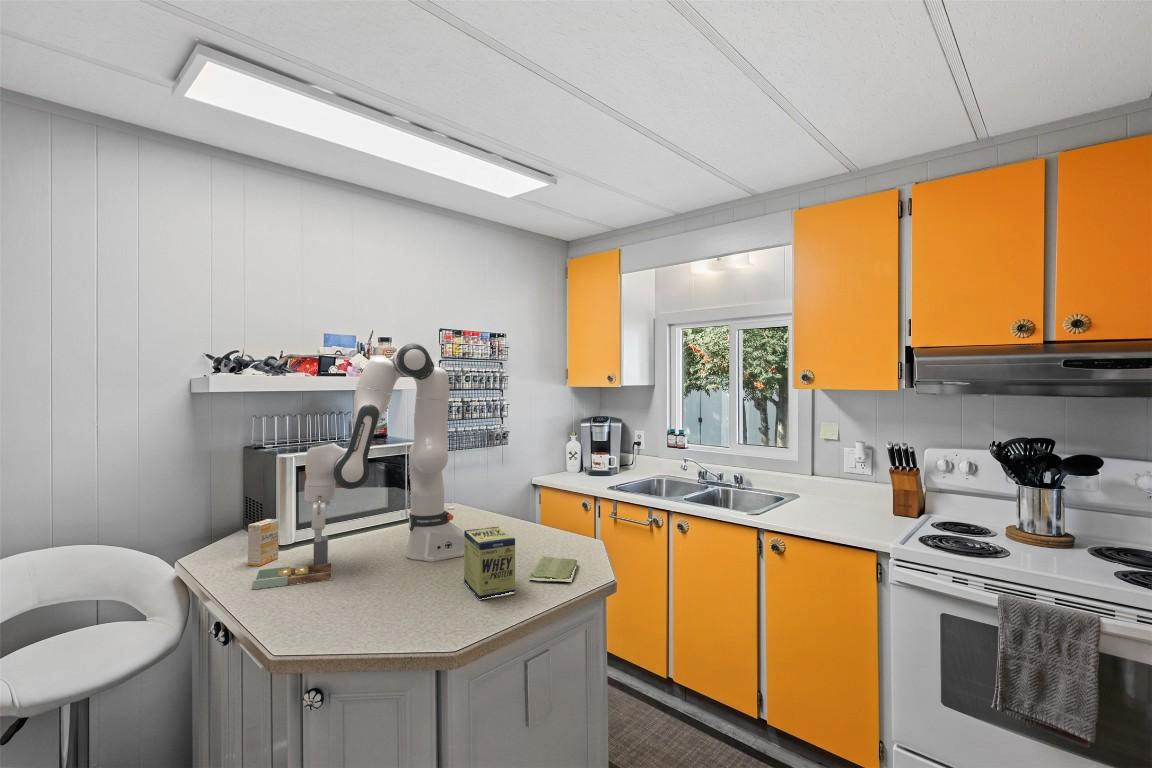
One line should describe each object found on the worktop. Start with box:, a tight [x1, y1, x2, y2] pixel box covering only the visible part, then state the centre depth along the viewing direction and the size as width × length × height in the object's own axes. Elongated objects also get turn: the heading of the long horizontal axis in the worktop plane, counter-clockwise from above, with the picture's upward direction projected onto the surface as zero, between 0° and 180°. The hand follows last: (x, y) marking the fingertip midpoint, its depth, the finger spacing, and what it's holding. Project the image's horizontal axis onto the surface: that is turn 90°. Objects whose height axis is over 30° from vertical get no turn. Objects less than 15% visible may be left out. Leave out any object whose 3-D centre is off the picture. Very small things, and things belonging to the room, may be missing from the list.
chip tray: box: [252, 565, 291, 590], centre depth 161 cm, size 8×10×2 cm
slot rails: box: [287, 562, 332, 586], centre depth 165 cm, size 12×10×2 cm
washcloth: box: [529, 556, 578, 579], centre depth 170 cm, size 13×18×3 cm
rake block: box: [313, 534, 329, 565], centre depth 175 cm, size 4×6×9 cm
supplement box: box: [247, 518, 280, 567], centre depth 179 cm, size 8×5×13 cm, turn 168°
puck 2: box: [294, 565, 309, 576], centre depth 164 cm, size 4×4×3 cm
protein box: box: [463, 526, 516, 599], centre depth 157 cm, size 10×16×16 cm
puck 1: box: [277, 567, 292, 577], centre depth 163 cm, size 4×4×3 cm
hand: (318, 537), depth 174 cm, fingers open, 8 cm apart
